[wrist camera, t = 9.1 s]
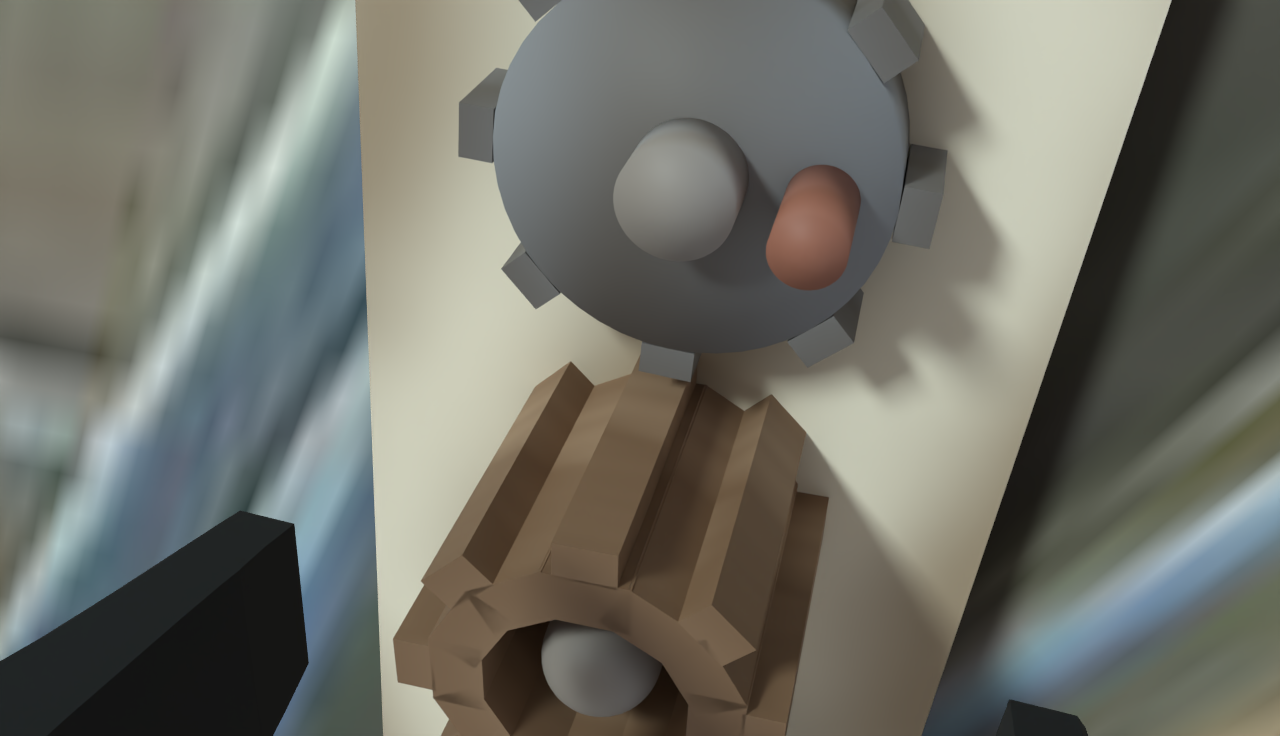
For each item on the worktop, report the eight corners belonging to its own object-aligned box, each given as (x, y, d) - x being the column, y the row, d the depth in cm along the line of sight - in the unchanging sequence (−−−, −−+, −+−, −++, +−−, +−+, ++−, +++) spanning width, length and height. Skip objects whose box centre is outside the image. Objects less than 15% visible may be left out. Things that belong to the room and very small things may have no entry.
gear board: (1185, -99, 15) (1274, 45, 10) (863, 873, 27) (833, 1159, 22) (385, -217, 17) (132, -142, 12) (406, 746, 29) (282, 986, 24)
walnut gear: (846, 378, 19) (805, 592, 15) (807, 637, 22) (764, 872, 18) (504, 323, 20) (377, 509, 16) (513, 578, 23) (409, 787, 19)
